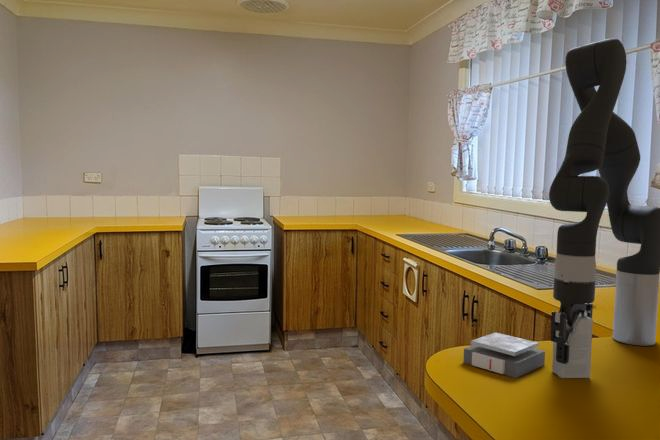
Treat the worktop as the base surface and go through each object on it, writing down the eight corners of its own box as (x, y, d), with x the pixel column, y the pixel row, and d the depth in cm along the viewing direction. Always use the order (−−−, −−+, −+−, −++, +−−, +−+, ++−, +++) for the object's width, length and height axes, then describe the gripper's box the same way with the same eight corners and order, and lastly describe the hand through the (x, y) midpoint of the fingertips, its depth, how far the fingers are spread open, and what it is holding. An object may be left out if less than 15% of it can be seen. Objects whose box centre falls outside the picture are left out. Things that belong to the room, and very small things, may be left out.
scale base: (493, 351, 123) (493, 338, 123) (544, 365, 114) (545, 351, 114) (460, 363, 114) (461, 349, 114) (513, 379, 105) (514, 364, 105)
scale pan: (495, 338, 121) (495, 332, 121) (538, 348, 114) (538, 342, 114) (470, 346, 114) (471, 340, 114) (514, 358, 107) (515, 352, 107)
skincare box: (579, 371, 111) (583, 313, 110) (590, 378, 107) (594, 319, 106) (550, 371, 111) (553, 313, 110) (560, 378, 106) (563, 318, 105)
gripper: (571, 270, 115) (567, 346, 116) (539, 278, 105) (535, 361, 106) (608, 275, 109) (603, 355, 111) (578, 284, 100) (574, 371, 101)
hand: (570, 358), depth 108 cm, fingers closed on skincare box, 7 cm apart
